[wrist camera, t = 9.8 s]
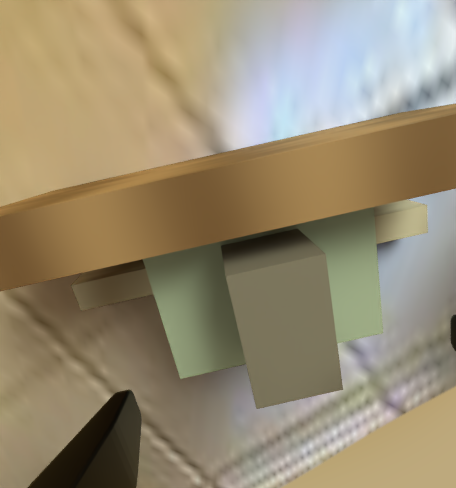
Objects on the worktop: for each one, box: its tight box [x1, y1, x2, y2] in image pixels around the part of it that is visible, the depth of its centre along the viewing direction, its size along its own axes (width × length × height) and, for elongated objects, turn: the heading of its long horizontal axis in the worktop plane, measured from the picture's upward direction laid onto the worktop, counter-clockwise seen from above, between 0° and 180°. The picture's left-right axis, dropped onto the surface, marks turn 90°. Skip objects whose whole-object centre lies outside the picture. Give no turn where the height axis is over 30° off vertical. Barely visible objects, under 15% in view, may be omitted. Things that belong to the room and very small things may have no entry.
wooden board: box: [0, 104, 456, 311], centre depth 14 cm, size 20×7×10 cm, turn 102°
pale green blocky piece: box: [143, 207, 383, 409], centre depth 15 cm, size 9×6×10 cm, turn 102°
